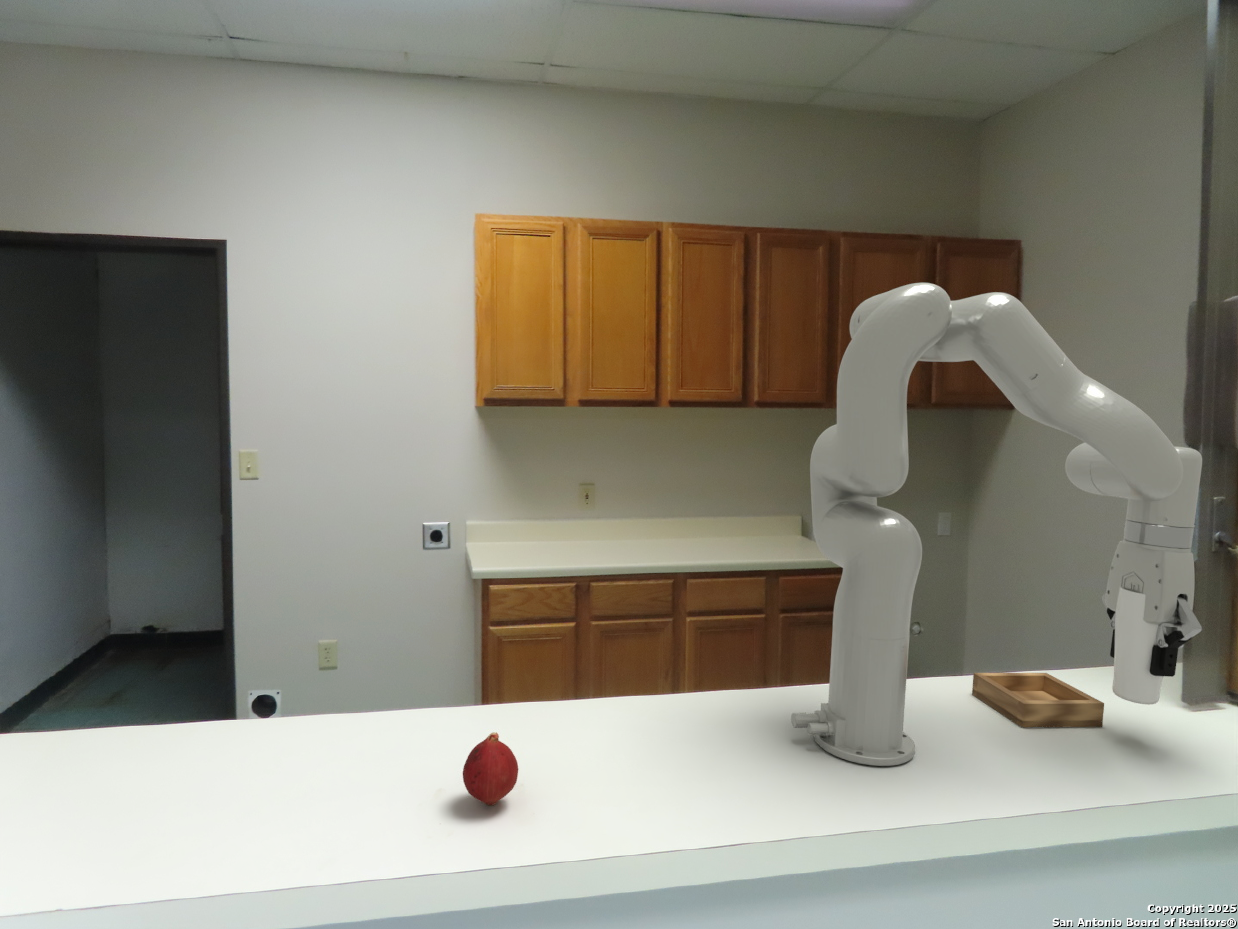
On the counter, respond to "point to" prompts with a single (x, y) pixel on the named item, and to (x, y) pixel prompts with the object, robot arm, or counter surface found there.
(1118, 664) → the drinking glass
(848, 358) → the robot arm
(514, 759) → the onion
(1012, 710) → the tray
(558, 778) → the counter surface
